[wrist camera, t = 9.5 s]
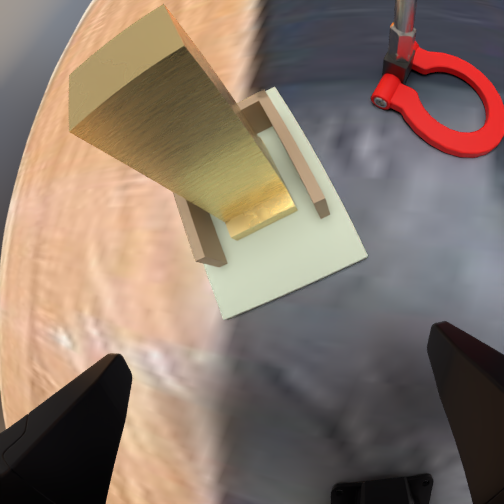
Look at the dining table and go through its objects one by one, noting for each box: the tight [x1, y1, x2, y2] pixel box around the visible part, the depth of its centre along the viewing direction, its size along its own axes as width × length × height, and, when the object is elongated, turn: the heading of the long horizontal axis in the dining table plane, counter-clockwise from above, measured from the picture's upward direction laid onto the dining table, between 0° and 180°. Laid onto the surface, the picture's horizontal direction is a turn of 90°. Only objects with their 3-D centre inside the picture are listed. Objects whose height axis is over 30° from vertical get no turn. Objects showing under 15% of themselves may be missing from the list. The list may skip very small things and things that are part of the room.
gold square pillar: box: [69, 4, 298, 241], centre depth 13 cm, size 5×4×12 cm
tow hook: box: [371, 0, 504, 158], centre depth 10 cm, size 8×13×9 cm
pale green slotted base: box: [173, 87, 368, 320], centre depth 18 cm, size 13×9×4 cm
